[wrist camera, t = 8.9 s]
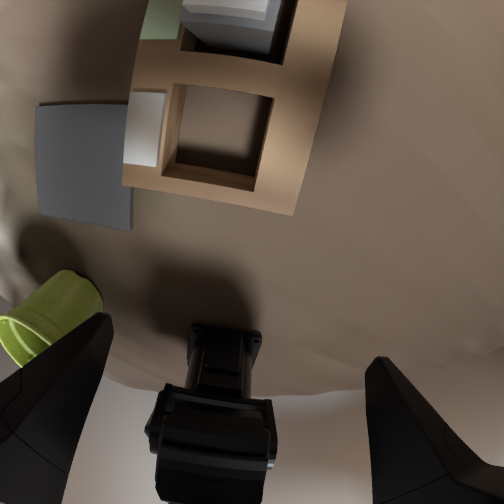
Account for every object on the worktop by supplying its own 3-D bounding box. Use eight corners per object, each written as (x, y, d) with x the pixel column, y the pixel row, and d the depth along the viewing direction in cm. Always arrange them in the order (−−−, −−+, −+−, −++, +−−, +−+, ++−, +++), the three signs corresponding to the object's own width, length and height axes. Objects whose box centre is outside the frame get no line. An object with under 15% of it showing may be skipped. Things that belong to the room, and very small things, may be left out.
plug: (268, 55, 14) (274, 24, 7) (208, 46, 14) (168, 13, 7) (280, 6, 12) (294, -51, 5) (220, -3, 12) (193, -61, 5)
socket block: (287, 197, 18) (293, 218, 16) (140, 171, 18) (119, 187, 15) (337, -1, 11) (353, -18, 8) (176, -25, 10) (160, -44, 8)
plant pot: (75, 332, 27) (44, 392, 20) (28, 265, 22) (-20, 321, 15) (136, 323, 25) (106, 398, 18) (83, 241, 21) (25, 310, 13)
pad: (132, 228, 20) (129, 231, 20) (43, 211, 19) (40, 214, 19) (140, 105, 15) (137, 105, 15) (40, 105, 15) (36, 106, 14)
